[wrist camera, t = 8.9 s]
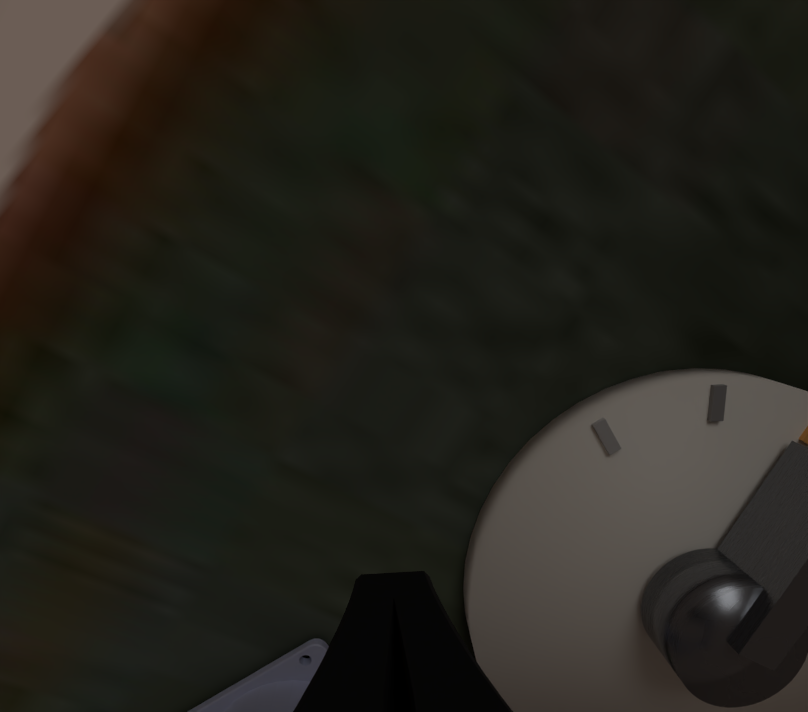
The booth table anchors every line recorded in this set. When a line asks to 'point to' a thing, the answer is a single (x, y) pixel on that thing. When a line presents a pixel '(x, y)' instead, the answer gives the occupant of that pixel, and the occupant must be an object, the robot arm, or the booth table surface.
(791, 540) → the dial pointer
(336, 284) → the booth table surface
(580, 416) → the dial plate
